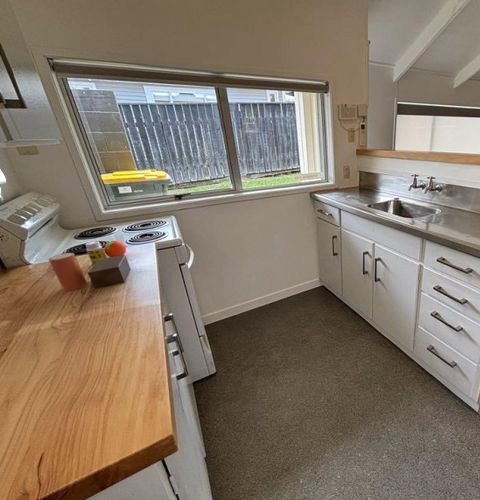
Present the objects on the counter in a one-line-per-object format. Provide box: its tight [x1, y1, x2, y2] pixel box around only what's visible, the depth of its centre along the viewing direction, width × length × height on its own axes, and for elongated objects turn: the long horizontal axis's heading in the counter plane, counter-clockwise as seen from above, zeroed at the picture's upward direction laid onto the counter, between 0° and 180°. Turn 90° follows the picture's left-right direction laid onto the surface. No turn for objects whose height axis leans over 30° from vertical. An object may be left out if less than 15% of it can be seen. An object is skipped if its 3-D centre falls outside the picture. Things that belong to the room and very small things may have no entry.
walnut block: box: [87, 254, 131, 290], centre depth 97 cm, size 8×12×6 cm, turn 28°
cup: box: [48, 252, 88, 292], centre depth 92 cm, size 11×6×6 cm
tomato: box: [103, 240, 127, 258], centre depth 115 cm, size 8×7×7 cm
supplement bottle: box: [85, 240, 107, 265], centre depth 111 cm, size 5×5×8 cm
